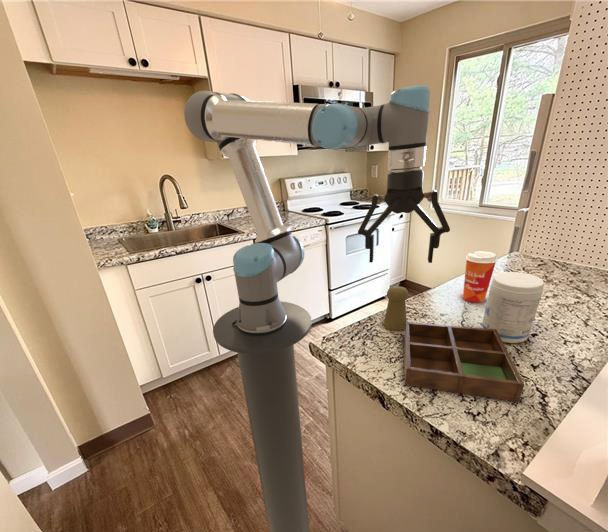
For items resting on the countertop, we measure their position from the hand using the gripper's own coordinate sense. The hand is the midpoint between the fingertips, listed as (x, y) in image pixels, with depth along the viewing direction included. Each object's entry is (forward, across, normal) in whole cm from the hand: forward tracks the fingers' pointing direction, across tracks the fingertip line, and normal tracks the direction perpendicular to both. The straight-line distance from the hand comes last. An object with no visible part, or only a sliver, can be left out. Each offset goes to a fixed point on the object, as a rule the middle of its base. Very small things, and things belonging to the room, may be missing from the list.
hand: (399, 261), depth 78 cm
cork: (+18, 0, 0) cm, 19 cm away
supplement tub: (+19, +25, 0) cm, 31 cm away
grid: (+18, +12, -15) cm, 27 cm away
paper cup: (+19, +22, +20) cm, 35 cm away
